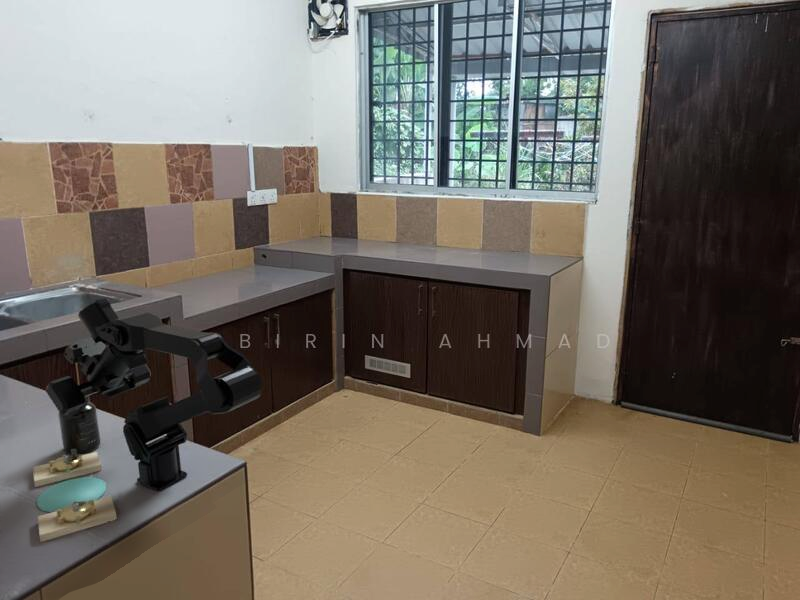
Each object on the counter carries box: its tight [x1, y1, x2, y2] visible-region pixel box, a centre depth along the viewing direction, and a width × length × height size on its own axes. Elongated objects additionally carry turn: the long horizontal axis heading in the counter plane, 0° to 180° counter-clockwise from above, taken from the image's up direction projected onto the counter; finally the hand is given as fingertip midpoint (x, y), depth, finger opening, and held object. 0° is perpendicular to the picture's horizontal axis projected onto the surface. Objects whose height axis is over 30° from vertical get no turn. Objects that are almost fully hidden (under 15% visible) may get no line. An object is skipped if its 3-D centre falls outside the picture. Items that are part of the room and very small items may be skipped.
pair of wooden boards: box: [32, 451, 118, 543], centre depth 109 cm, size 25×11×1 cm, turn 32°
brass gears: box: [49, 448, 96, 525], centre depth 108 cm, size 25×6×3 cm, turn 32°
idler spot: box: [36, 476, 107, 513], centre depth 109 cm, size 11×11×1 cm
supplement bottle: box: [58, 395, 101, 455], centre depth 124 cm, size 7×7×12 cm
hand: (86, 404), depth 122 cm, fingers open, 9 cm apart
